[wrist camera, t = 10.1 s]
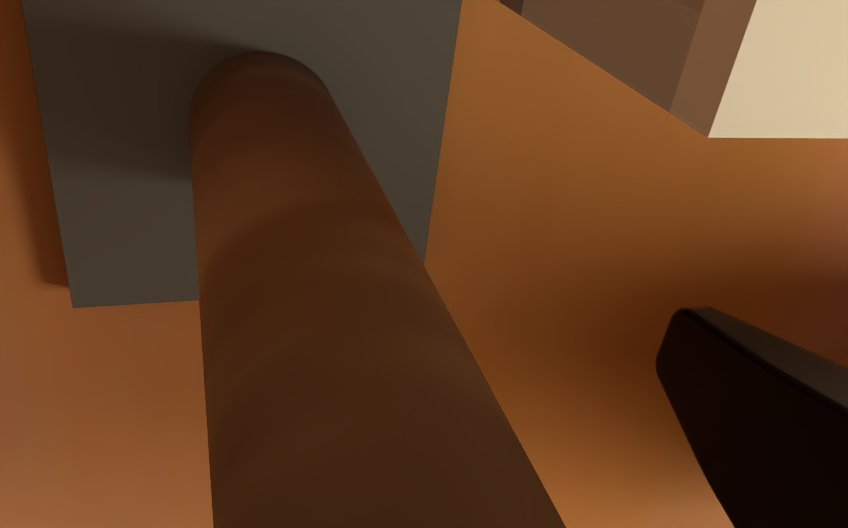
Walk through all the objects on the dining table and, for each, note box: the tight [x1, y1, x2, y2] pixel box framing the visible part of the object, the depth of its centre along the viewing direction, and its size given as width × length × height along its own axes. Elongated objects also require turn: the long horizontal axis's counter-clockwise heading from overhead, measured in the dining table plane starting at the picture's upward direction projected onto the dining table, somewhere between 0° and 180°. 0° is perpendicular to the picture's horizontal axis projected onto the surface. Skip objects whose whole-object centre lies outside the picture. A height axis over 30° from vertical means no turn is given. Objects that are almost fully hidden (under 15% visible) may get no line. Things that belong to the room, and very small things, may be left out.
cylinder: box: [188, 52, 566, 528], centre depth 8 cm, size 3×3×11 cm
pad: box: [21, 0, 462, 308], centre depth 13 cm, size 7×7×1 cm
